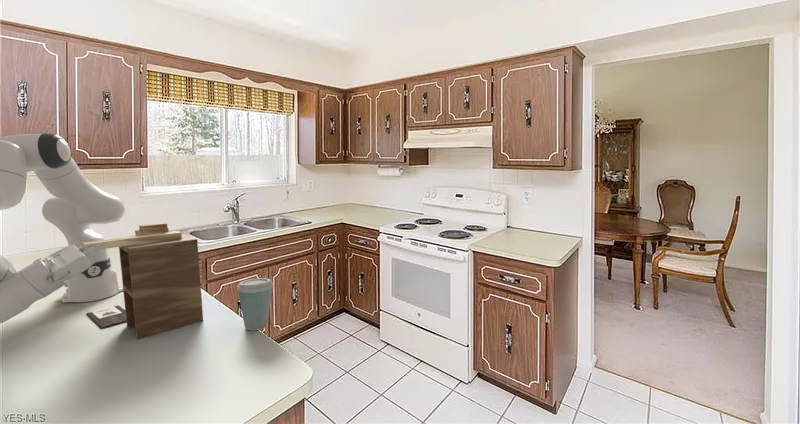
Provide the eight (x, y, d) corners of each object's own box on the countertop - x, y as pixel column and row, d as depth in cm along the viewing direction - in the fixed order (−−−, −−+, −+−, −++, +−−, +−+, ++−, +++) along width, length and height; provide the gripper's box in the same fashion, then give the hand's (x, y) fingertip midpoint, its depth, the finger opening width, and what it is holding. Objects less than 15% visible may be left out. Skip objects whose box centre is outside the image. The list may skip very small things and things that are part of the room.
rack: (126, 326, 119) (116, 227, 115) (189, 310, 132) (182, 220, 128) (137, 339, 110) (127, 232, 106) (203, 320, 123) (196, 224, 119)
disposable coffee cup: (233, 326, 119) (230, 280, 117) (266, 316, 126) (264, 273, 124) (247, 337, 111) (244, 288, 109) (281, 326, 119) (279, 280, 117)
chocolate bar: (101, 327, 117) (86, 313, 128) (102, 330, 117) (86, 315, 128) (135, 318, 124) (118, 305, 135) (136, 320, 124) (118, 307, 135)
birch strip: (83, 249, 106) (82, 242, 105) (178, 237, 123) (177, 230, 123) (85, 251, 103) (84, 244, 103) (181, 238, 121) (181, 232, 120)
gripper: (39, 275, 91) (99, 239, 98) (33, 260, 105) (86, 230, 112) (60, 293, 94) (116, 257, 101) (51, 276, 108) (101, 246, 115)
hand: (100, 243), depth 107 cm, fingers closed on birch strip, 3 cm apart
